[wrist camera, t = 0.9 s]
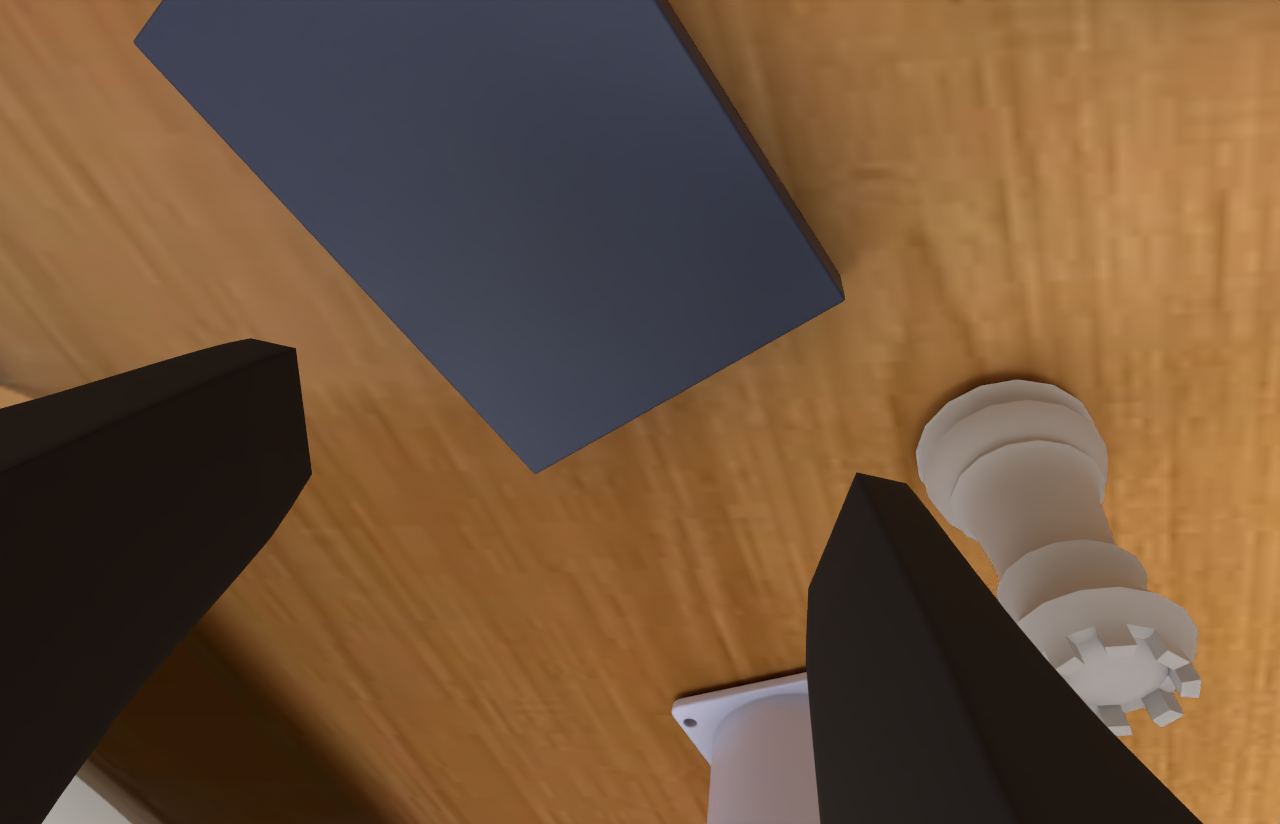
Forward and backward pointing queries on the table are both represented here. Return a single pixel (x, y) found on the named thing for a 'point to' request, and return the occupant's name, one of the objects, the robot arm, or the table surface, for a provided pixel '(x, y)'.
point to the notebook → (515, 190)
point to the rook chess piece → (1058, 546)
